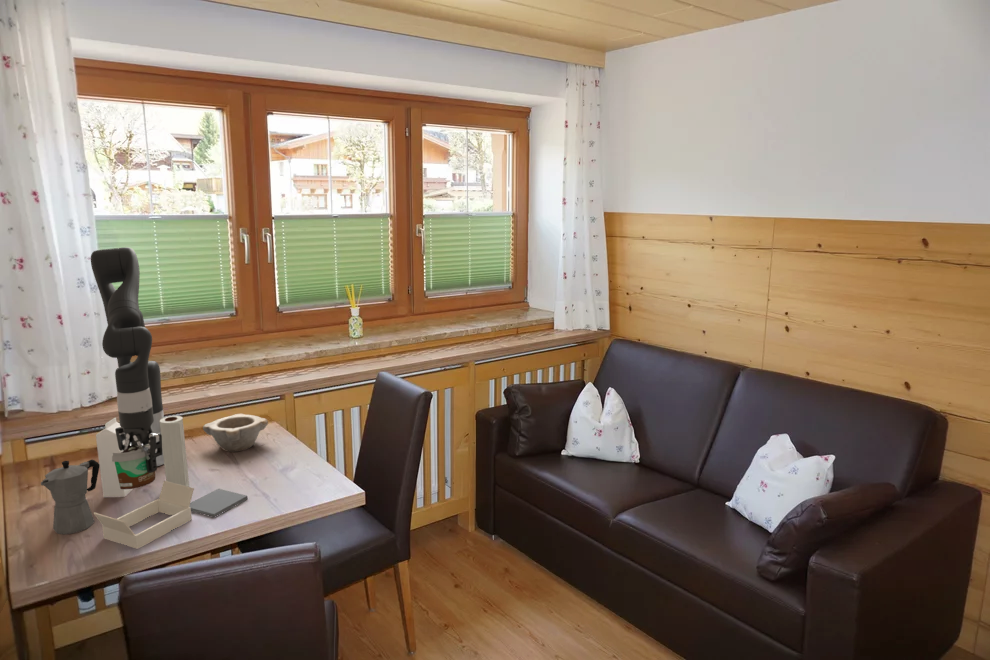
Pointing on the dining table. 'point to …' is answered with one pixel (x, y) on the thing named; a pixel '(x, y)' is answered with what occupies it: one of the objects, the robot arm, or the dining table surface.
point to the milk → (109, 460)
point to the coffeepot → (71, 496)
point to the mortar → (236, 431)
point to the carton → (169, 502)
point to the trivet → (216, 502)
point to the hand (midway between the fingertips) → (142, 469)
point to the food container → (132, 468)
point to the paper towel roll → (174, 450)
